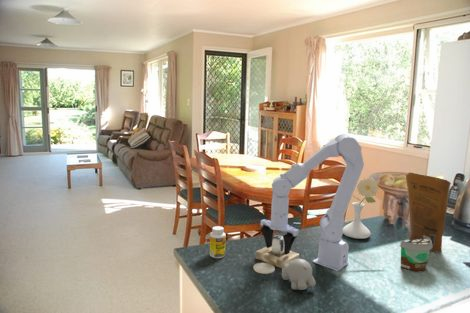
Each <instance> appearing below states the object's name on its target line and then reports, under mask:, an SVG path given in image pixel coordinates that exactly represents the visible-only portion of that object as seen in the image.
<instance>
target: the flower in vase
mask: <svg viewBox="0 0 470 313" xmlns="http://www.w3.org/2000/svg"><path fill="white" fill-rule="evenodd" d="M379 188H380V187H379V186H378V183H377V181H376V180H374V179H372V178H369V177H367V178H364V179H360V180H359V182H358V183H357V185H356V189H357V192H358V194H359V195H360V196H362V197H363V198H362V200H361V199H360V198H359V197H356V196H354V198H355V199H356V200H358V201H357V202H356V201H354V202H352V203H351V204H352V206H353V208H354V209H353V210H354V216H353V217H354V218H353V221H352V222H350V223H348V224H346V225H344V226H343V235H344V236H346V237H349V238H352V239H357V240H359V239H360V240H362V239H368V238H369V237H371V235H372V234H371V231H370V229H369V228H367V226H366V225H364V224H363V223H362V221H361V214H362V210H363V207H365V205H366V204H365V203H364V202H363V201H364V200H365V201H366V202H367V203H368V204H372V203H373V204H374V203H376V202H377V201H376V199H375V198H374V196H377V193H378V191H379ZM359 201H360V202H359Z"/></svg>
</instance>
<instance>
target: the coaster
mask: <svg viewBox="0 0 470 313" xmlns="http://www.w3.org/2000/svg"><path fill="white" fill-rule="evenodd" d="M275 267H276V266H275V265H272V264H270V263H267V262H257V263H255V264H253V271H254V272H256V273H258V274H263V275H269V274H273V273H274V272H275V270H276V269H275Z"/></svg>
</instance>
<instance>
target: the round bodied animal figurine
mask: <svg viewBox="0 0 470 313" xmlns="http://www.w3.org/2000/svg"><path fill="white" fill-rule="evenodd" d="M282 265H283V268H281V277H282V280H285V281H288V280H291V284H290V287H291V289H292V290H295V291H297V290H299V291H303V290H307V288H308V287H309V288H311V287H315V286H316V284H317V283H316V282H317V281H316V280H315V278H314V276H313V268H312V266H311V264H310V262H308V260H305V259H303V258H299V259H295V260H293V261H291V262H290V263H289V264H287V265H285V264H282Z"/></svg>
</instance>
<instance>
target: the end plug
mask: <svg viewBox="0 0 470 313" xmlns="http://www.w3.org/2000/svg"><path fill="white" fill-rule="evenodd" d="M284 247H285V245H284V238H283V235H279V234H278V235H277V234H276V235H273V236H272V250H271V254H272V255H275V256H277V257H281V256H283V255H284Z"/></svg>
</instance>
